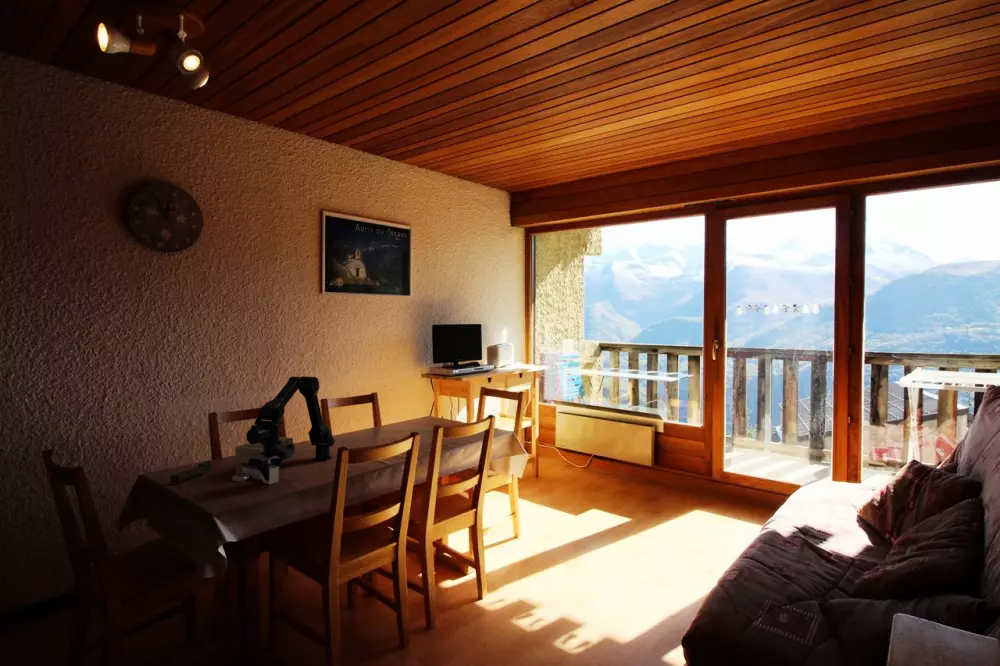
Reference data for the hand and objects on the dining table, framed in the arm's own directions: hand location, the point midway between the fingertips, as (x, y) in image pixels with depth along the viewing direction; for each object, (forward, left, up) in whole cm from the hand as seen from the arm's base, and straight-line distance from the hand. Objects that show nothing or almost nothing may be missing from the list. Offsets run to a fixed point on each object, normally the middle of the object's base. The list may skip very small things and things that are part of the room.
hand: (271, 478), depth 206 cm
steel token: (0, -14, -2) cm, 14 cm away
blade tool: (-2, -8, -1) cm, 8 cm away
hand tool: (+3, -34, -2) cm, 35 cm away
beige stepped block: (-15, -15, -2) cm, 21 cm away
